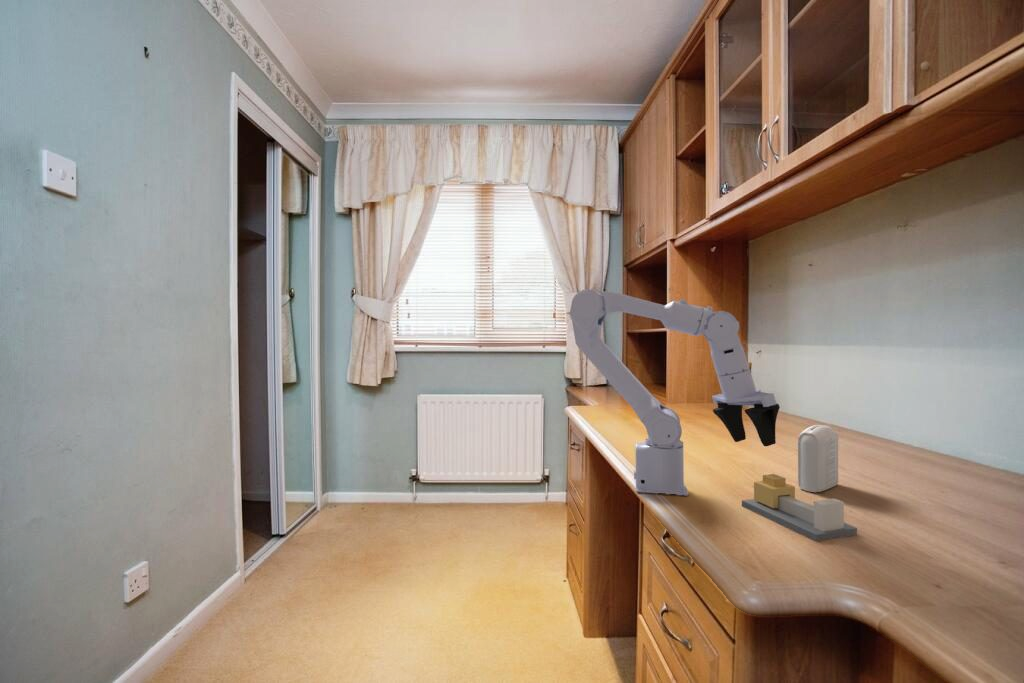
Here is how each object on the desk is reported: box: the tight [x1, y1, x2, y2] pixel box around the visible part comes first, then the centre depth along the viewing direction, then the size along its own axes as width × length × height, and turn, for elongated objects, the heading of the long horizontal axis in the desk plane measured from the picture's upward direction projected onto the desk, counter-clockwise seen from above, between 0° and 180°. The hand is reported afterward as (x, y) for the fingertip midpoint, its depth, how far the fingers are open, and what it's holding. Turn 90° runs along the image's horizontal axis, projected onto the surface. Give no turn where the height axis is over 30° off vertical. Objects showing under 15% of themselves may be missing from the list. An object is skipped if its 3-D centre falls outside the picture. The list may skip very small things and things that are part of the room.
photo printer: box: [797, 424, 839, 493], centre depth 86 cm, size 10×4×12 cm, turn 123°
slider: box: [753, 473, 796, 508], centre depth 75 cm, size 4×5×4 cm
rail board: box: [741, 495, 858, 542], centre depth 71 cm, size 14×8×5 cm, turn 15°
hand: (754, 442), depth 81 cm, fingers open, 7 cm apart
